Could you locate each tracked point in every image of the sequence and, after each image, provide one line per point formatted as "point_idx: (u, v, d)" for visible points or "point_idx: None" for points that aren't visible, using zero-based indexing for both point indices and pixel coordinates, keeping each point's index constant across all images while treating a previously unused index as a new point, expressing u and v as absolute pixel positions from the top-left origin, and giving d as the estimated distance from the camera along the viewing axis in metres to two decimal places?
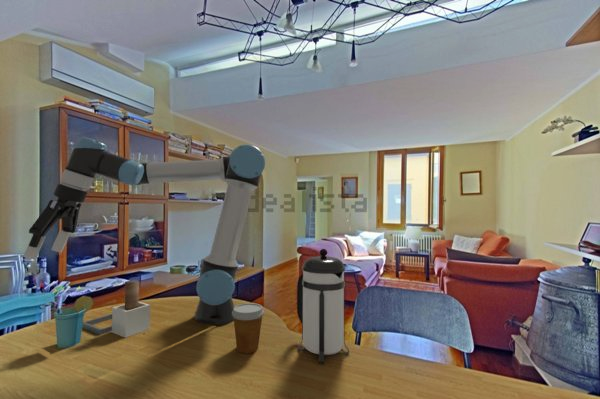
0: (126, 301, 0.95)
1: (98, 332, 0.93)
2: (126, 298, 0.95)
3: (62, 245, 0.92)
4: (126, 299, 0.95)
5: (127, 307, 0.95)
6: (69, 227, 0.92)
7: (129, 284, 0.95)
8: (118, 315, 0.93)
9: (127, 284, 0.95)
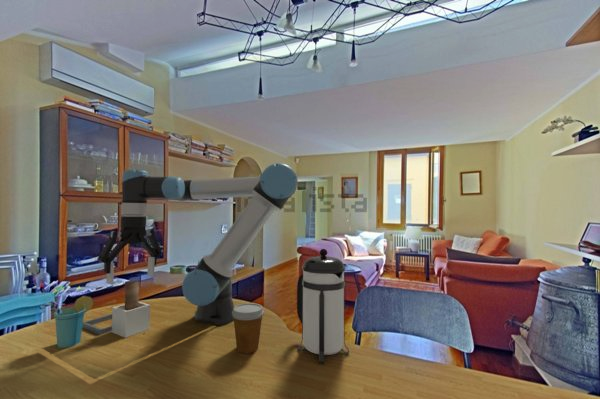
0: (126, 301, 0.95)
1: (98, 332, 0.93)
2: (126, 298, 0.95)
3: (151, 269, 1.02)
4: (126, 299, 0.95)
5: (127, 307, 0.95)
6: (151, 252, 1.02)
7: (129, 284, 0.95)
8: (118, 315, 0.93)
9: (127, 284, 0.95)
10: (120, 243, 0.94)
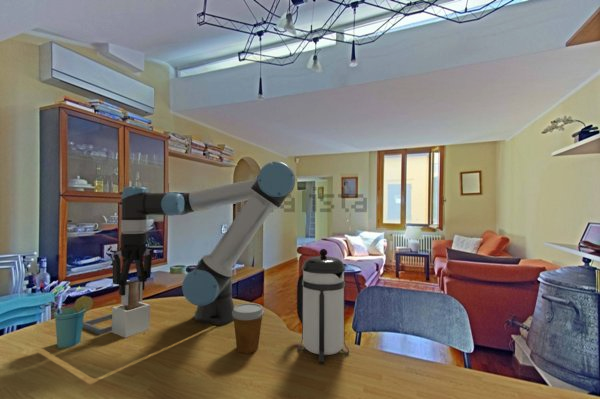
0: None
1: (98, 332, 0.93)
2: None
3: (139, 294, 0.98)
4: None
5: (127, 307, 0.95)
6: (140, 274, 0.99)
7: (129, 284, 0.95)
8: (118, 315, 0.93)
9: (127, 284, 0.95)
10: (125, 263, 0.95)
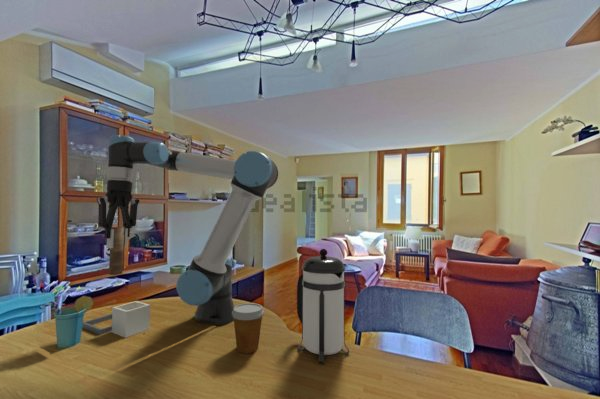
0: None
1: (98, 332, 0.93)
2: None
3: (124, 240, 1.02)
4: None
5: (112, 250, 0.99)
6: (126, 221, 1.02)
7: (114, 228, 0.99)
8: (118, 315, 0.93)
9: (112, 228, 0.99)
10: (111, 208, 0.99)
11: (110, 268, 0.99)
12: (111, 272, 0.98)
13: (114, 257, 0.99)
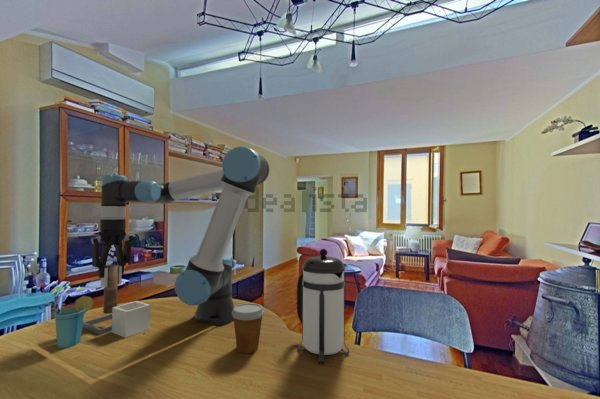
0: None
1: (98, 332, 0.93)
2: None
3: (118, 278, 1.03)
4: None
5: (106, 289, 0.99)
6: (120, 259, 1.03)
7: (108, 267, 1.00)
8: (118, 315, 0.93)
9: (106, 267, 1.00)
10: (104, 247, 1.00)
11: (104, 307, 0.99)
12: (105, 310, 0.99)
13: (108, 296, 0.99)
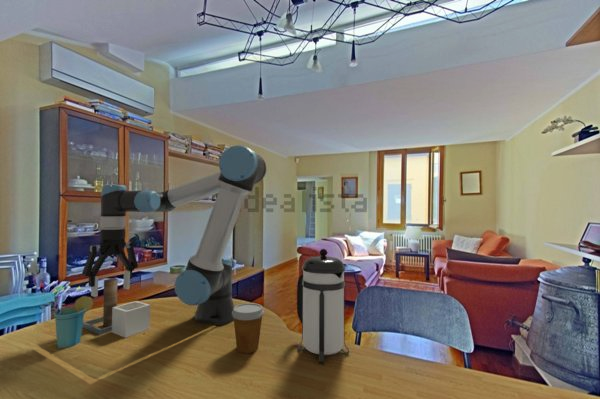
0: (104, 298, 0.99)
1: (98, 332, 0.93)
2: (104, 295, 0.99)
3: (127, 283, 1.05)
4: (104, 296, 0.99)
5: (106, 304, 0.99)
6: (127, 265, 1.05)
7: (107, 282, 0.99)
8: (118, 315, 0.93)
9: (105, 282, 0.99)
10: (101, 256, 0.99)
11: (104, 322, 0.99)
12: (105, 325, 0.99)
13: (108, 311, 0.99)
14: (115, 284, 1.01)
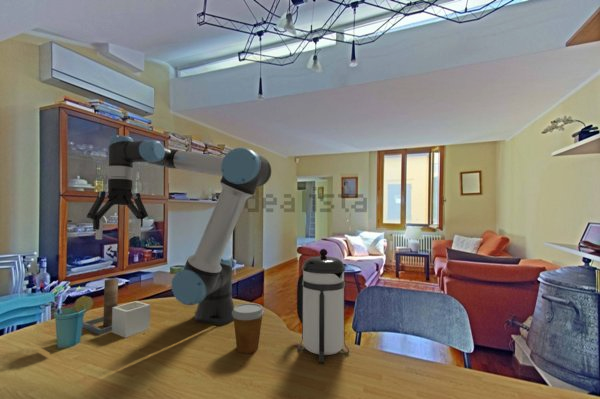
0: (105, 298, 0.99)
1: (98, 332, 0.93)
2: (105, 295, 0.99)
3: (138, 230, 1.10)
4: (105, 296, 1.00)
5: (106, 304, 0.99)
6: (137, 214, 1.09)
7: (108, 282, 0.99)
8: (118, 315, 0.93)
9: (106, 282, 1.00)
10: (108, 203, 1.01)
11: (104, 321, 0.99)
12: (105, 325, 0.99)
13: (108, 310, 0.99)
14: (116, 284, 1.01)
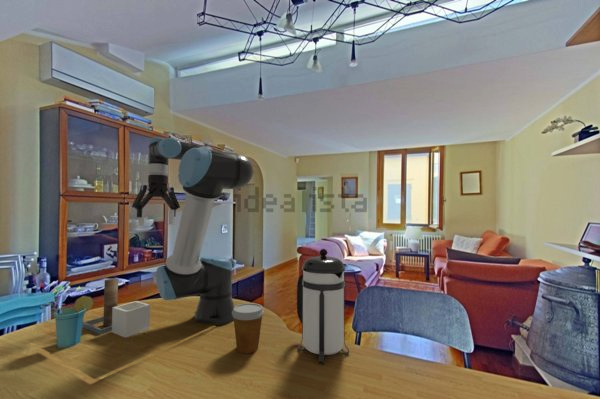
0: (105, 298, 0.99)
1: (98, 332, 0.93)
2: (105, 295, 1.00)
3: (172, 219, 1.27)
4: (105, 296, 1.00)
5: (106, 304, 0.99)
6: (171, 205, 1.27)
7: (108, 282, 1.00)
8: (118, 315, 0.93)
9: (106, 282, 1.00)
10: (148, 195, 1.19)
11: (104, 321, 0.99)
12: (105, 325, 0.99)
13: (108, 310, 0.99)
14: (116, 284, 1.01)
